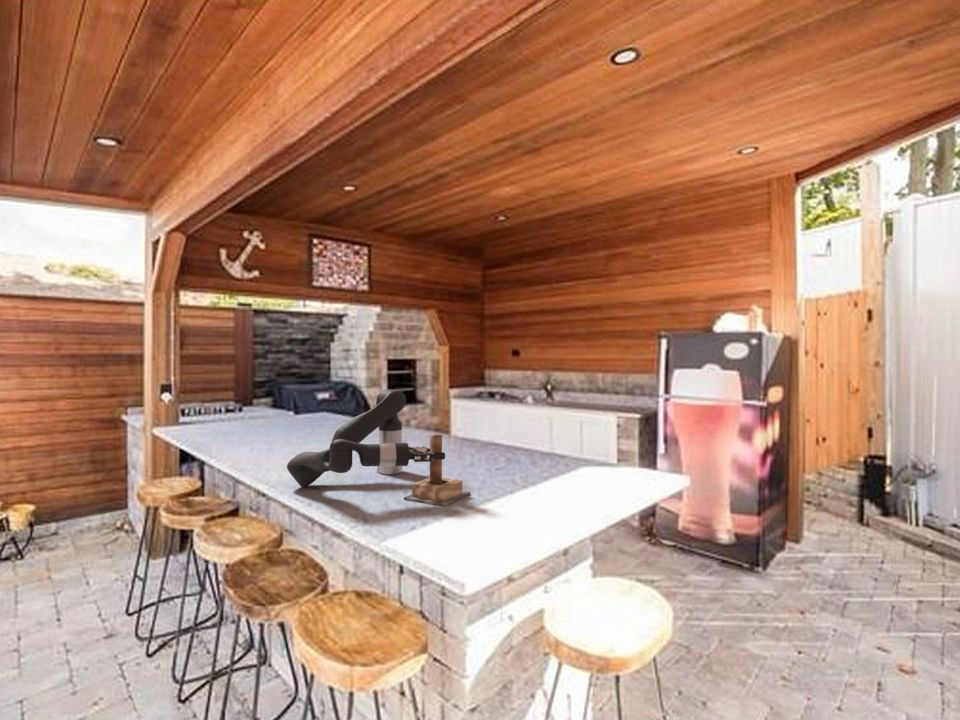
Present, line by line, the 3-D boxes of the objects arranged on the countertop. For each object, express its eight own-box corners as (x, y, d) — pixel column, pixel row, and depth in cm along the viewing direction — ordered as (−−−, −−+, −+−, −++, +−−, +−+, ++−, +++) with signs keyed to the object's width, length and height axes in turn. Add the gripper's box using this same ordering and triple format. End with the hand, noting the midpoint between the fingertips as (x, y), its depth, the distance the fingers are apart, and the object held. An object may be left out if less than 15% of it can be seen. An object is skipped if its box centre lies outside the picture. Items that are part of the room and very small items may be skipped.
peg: (427, 495, 179) (427, 435, 179) (434, 492, 183) (434, 433, 182) (437, 497, 177) (437, 436, 177) (444, 494, 181) (444, 434, 180)
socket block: (403, 499, 177) (403, 484, 177) (431, 488, 191) (431, 474, 191) (445, 506, 169) (445, 490, 169) (470, 494, 183) (470, 479, 183)
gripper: (389, 462, 182) (437, 460, 187) (396, 470, 169) (446, 469, 173) (390, 440, 182) (437, 439, 187) (396, 446, 169) (447, 445, 173)
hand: (441, 453), depth 180 cm, fingers open, 8 cm apart
